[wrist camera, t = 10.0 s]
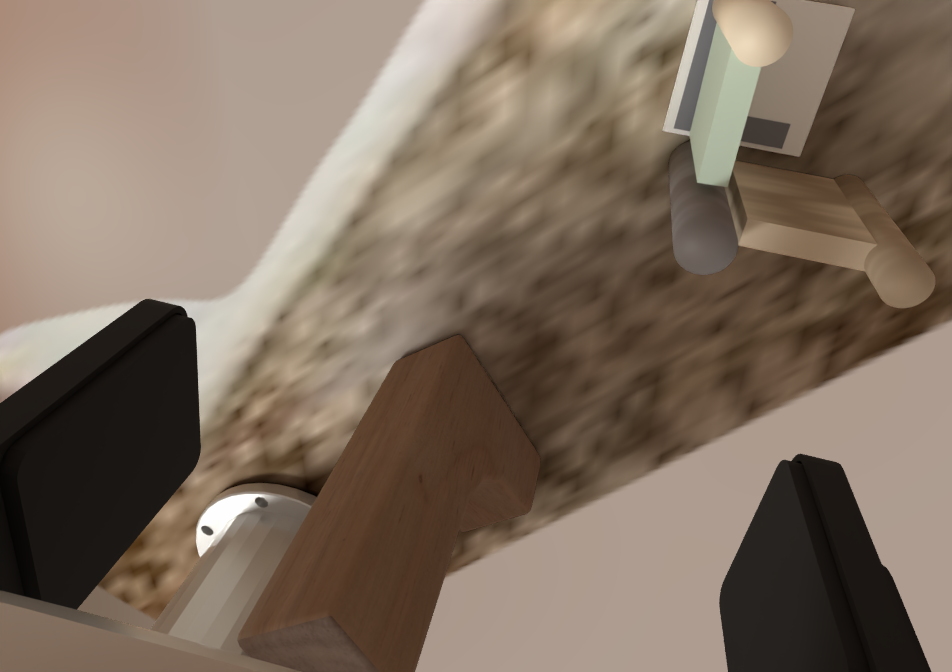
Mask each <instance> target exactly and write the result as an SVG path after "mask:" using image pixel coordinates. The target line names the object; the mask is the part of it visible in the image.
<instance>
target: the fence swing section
mask: <svg viewBox="0 0 952 672" xmlns="http://www.w3.org/2000/svg"><path fill="white" fill-rule="evenodd" d="M712 11H713V16H714V18H715V20H716V22H717V23H716V27H715V31H714V35H713V40H712V44H711V48H710V52H709V56H708V60H707V64H706V68H705V73H704V77H703V81H702V85H701V89H700V93H699V97H698V101H697V106H696V110H695V114H694V118H693V122H692V126H691V130H690V134H689V135H690V141H691V148H692V154H693V160H694V166H695V172H696V179H697V183H703V184H709V185H716V186H723V187H728V184H729V180H730V177H731V173H732V170H733V166H734V163H735V159H736V155H737V152H738V148H739V145H740V141H741V138H742V134H743V130H744V127H745V123H746V120H747V116H748V113H749V109H750V106H751V102H752V98H753V95H754V91H755V88H756V84H757V81H758V77H759V73H760V70H761V67H763V66H767V65H770V64H772V63H774V62H776V61H777V60H778V59H780V58H781V57H782V56H783V55H784V54H785V52H786V51H787V50H788V48H789V46H790V44H791V41H792V37H793V26H792V22H791V20H790V18H789V16H788V15H787V14H786V13H785V12H784V11H783V10H782V9H781V8H779V7H778V6H777V5H775V4H774V3H773V2H771V1H770V0H714V1H713V6H712Z"/></svg>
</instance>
